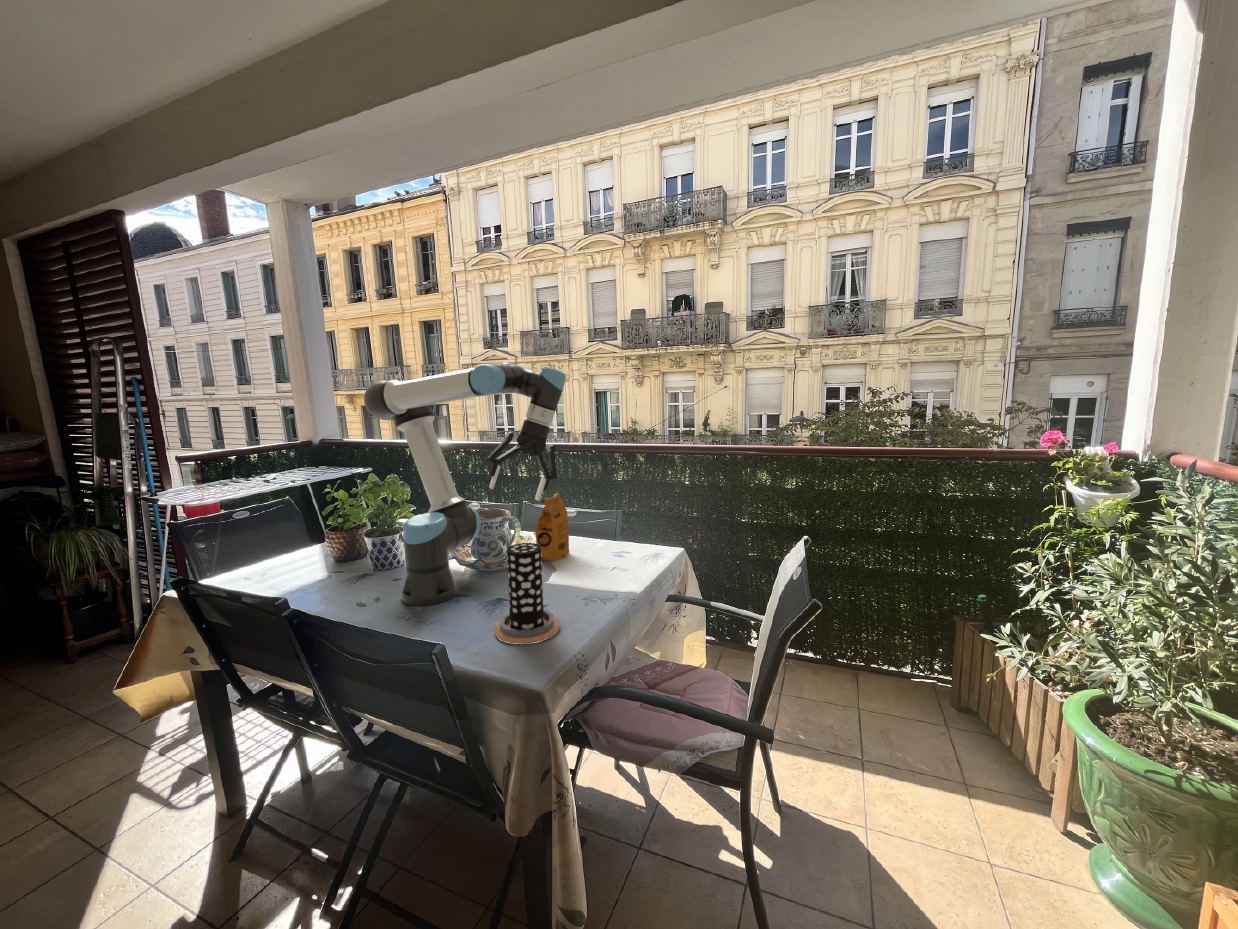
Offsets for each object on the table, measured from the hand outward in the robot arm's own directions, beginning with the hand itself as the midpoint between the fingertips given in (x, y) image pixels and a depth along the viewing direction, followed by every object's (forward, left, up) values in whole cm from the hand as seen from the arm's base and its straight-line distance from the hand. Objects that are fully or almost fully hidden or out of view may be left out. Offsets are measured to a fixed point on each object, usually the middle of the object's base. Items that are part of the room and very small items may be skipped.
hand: (514, 494), depth 144 cm
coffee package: (+9, +33, -30) cm, 46 cm away
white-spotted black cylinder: (+4, -22, -29) cm, 37 cm away
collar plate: (+4, -22, -30) cm, 37 cm away
